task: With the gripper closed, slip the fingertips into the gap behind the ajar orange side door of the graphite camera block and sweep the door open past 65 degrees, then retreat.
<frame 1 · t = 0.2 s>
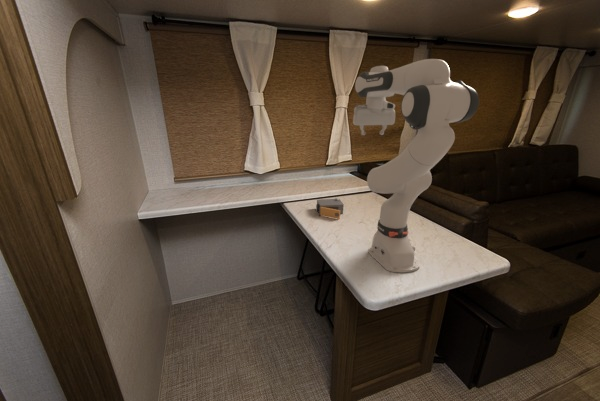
hand: (372, 134, 126), 47 cm above the table, fingers open, 8 cm apart
side door: (329, 213, 147), point 3 cm above the table, hinge at 35.0°
camera block: (329, 211, 156), on the table
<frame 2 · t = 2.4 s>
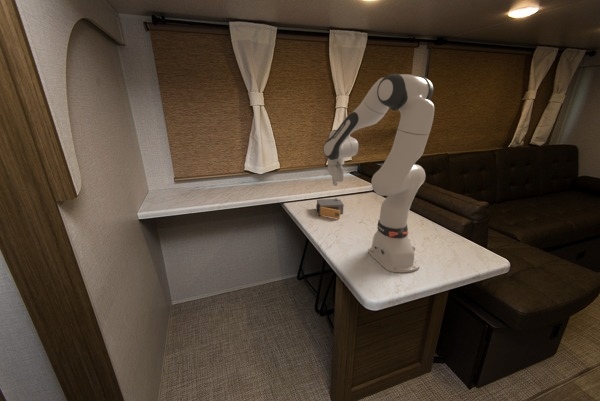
hand: (334, 184, 143), 19 cm above the table, fingers closed
nothing on the table moved.
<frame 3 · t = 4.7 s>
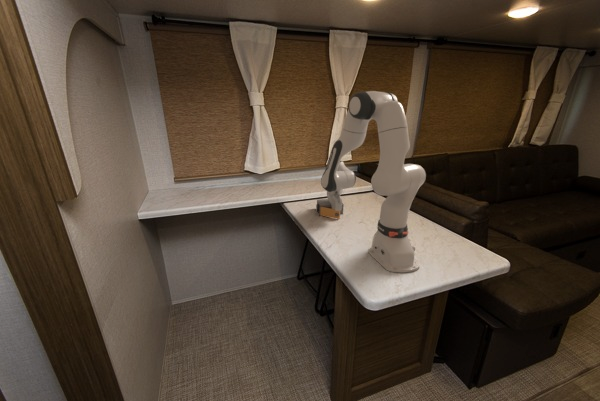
hand: (333, 211, 148), 3 cm above the table, fingers closed
side door: (329, 213, 147), point 3 cm above the table, hinge at 35.0°, touching gripper
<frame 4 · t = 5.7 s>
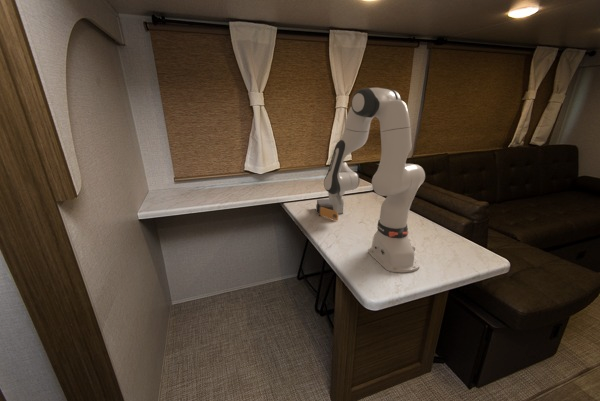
hand: (334, 213, 145), 4 cm above the table, fingers closed, pressing on side door
side door: (328, 213, 146), point 3 cm above the table, hinge at 47.3°, touching gripper
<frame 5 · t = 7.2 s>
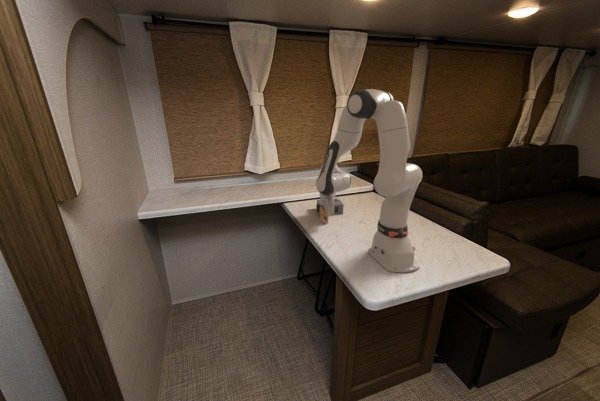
hand: (326, 215, 143), 3 cm above the table, fingers closed, pressing on side door
side door: (323, 215, 144), point 3 cm above the table, hinge at 82.6°, touching gripper
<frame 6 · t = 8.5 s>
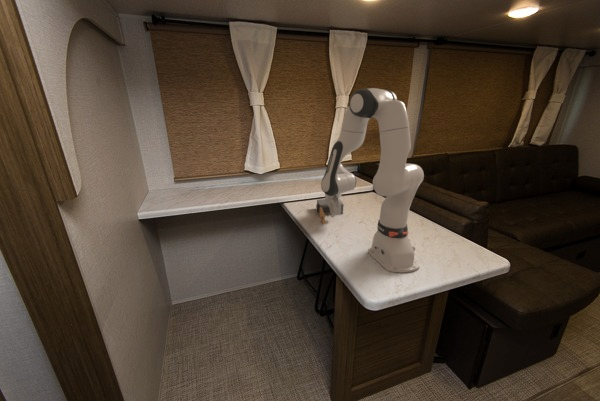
hand: (332, 216, 143), 3 cm above the table, fingers closed
side door: (321, 215, 144), point 3 cm above the table, hinge at 91.1°
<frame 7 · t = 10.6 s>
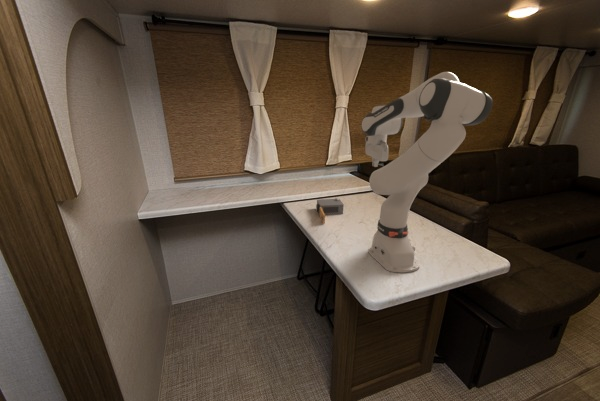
hand: (374, 166, 134), 31 cm above the table, fingers closed
nothing on the table moved.
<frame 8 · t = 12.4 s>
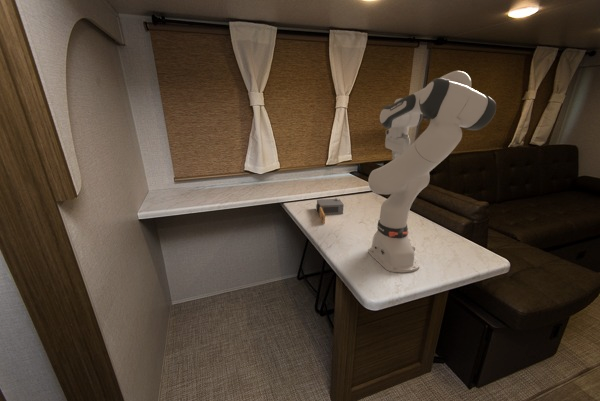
hand: (395, 159, 134), 34 cm above the table, fingers closed
nothing on the table moved.
at the end: side door at +91° (first picture: +35°) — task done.
